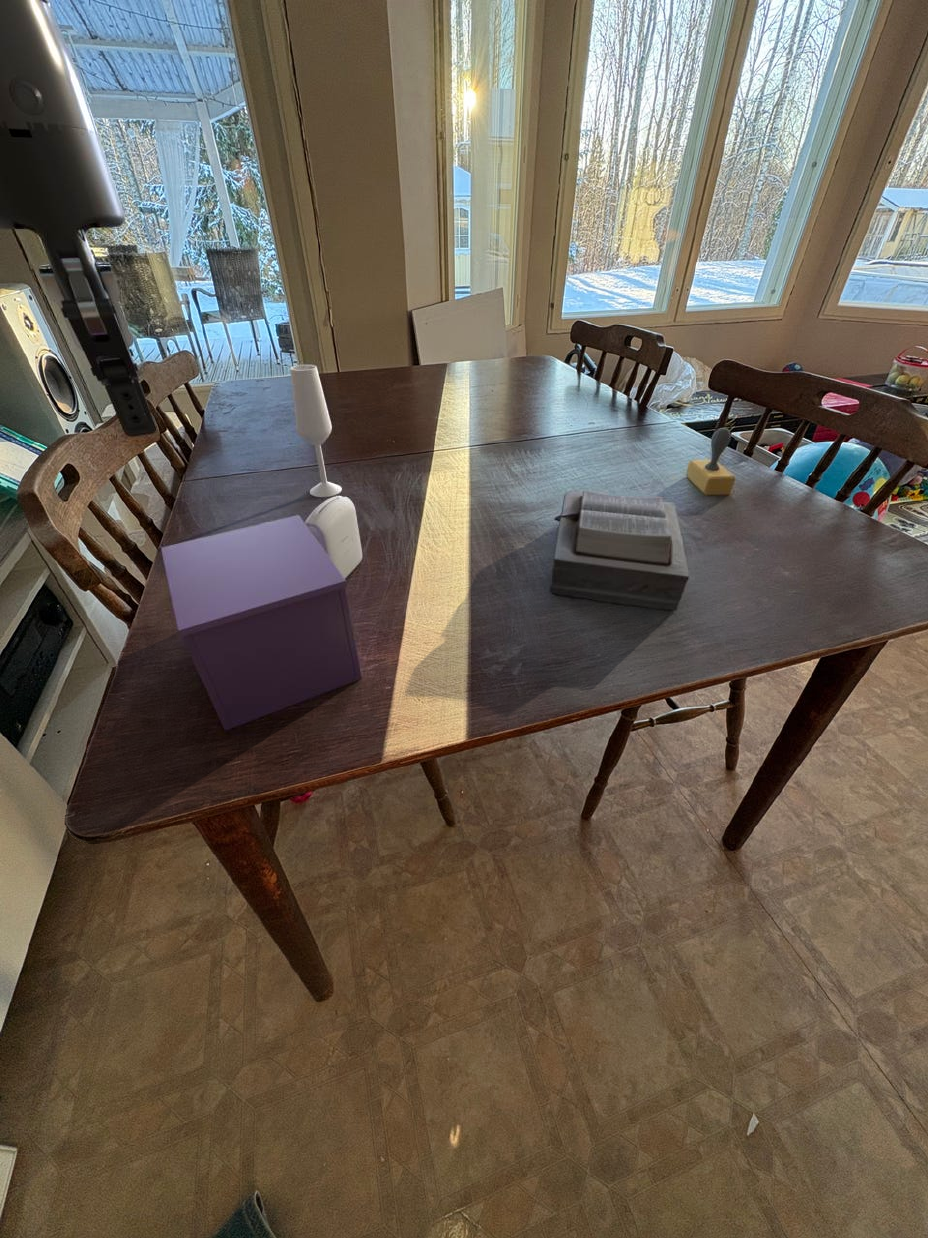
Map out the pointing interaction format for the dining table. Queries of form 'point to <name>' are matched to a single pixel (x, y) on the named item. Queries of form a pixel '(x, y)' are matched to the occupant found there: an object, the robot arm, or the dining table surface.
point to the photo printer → (337, 532)
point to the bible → (619, 550)
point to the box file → (276, 657)
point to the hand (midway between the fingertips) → (141, 432)
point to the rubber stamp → (712, 468)
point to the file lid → (246, 573)
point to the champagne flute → (312, 419)
